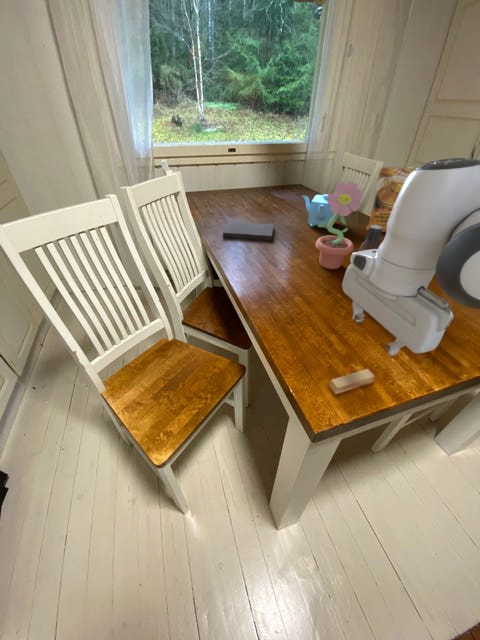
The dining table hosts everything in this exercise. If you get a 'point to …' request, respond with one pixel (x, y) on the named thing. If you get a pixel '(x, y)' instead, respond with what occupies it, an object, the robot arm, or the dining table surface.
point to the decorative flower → (337, 246)
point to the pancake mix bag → (387, 194)
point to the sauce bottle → (372, 238)
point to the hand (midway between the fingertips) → (372, 335)
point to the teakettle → (318, 210)
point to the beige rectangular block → (351, 381)
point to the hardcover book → (249, 230)
